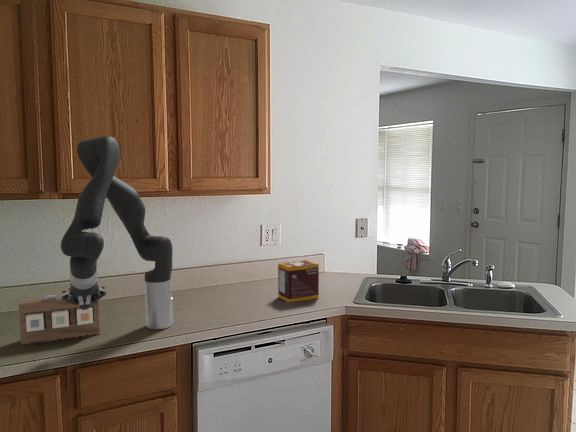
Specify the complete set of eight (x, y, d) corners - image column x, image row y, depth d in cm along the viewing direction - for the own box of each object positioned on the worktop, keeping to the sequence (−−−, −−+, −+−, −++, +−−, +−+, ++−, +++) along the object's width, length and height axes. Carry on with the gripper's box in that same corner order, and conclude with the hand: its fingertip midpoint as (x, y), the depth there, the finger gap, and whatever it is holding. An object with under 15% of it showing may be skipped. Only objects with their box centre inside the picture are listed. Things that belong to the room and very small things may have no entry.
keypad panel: (22, 339, 157) (20, 297, 156) (99, 329, 167) (97, 289, 166) (21, 345, 152) (18, 301, 151) (99, 334, 162) (97, 293, 161)
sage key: (53, 324, 158) (52, 310, 157) (69, 322, 160) (68, 308, 159) (52, 328, 153) (51, 314, 153) (69, 326, 155) (68, 312, 155)
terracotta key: (77, 321, 161) (76, 307, 160) (92, 319, 163) (92, 305, 162) (77, 325, 156) (76, 311, 156) (93, 323, 159) (92, 309, 158)
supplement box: (319, 298, 206) (319, 263, 204) (288, 302, 199) (288, 267, 198) (307, 292, 215) (307, 259, 214) (278, 297, 208) (277, 263, 207)
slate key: (27, 327, 154) (26, 313, 154) (44, 325, 157) (43, 311, 156) (26, 332, 150) (25, 317, 150) (43, 329, 152) (43, 315, 152)
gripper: (106, 265, 142) (105, 295, 154) (58, 269, 137) (61, 299, 149) (108, 286, 138) (107, 315, 150) (59, 291, 132) (62, 320, 145)
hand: (84, 307), depth 149 cm, fingers closed
